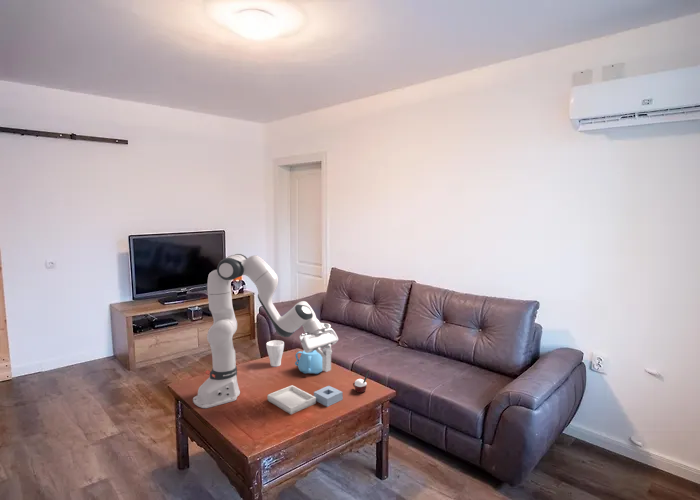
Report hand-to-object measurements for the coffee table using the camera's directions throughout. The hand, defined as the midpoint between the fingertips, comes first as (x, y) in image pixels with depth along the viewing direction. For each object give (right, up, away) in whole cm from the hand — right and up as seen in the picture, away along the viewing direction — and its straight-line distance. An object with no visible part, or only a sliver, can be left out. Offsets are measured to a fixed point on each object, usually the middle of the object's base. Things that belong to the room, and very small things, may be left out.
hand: (327, 354), depth 196 cm
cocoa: (+16, -22, +12) cm, 30 cm away
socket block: (0, -23, +3) cm, 23 cm away
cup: (-34, -18, +47) cm, 60 cm away
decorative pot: (-11, -19, +38) cm, 44 cm away
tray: (-17, -23, +1) cm, 29 cm away
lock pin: (0, -8, +1) cm, 8 cm away
